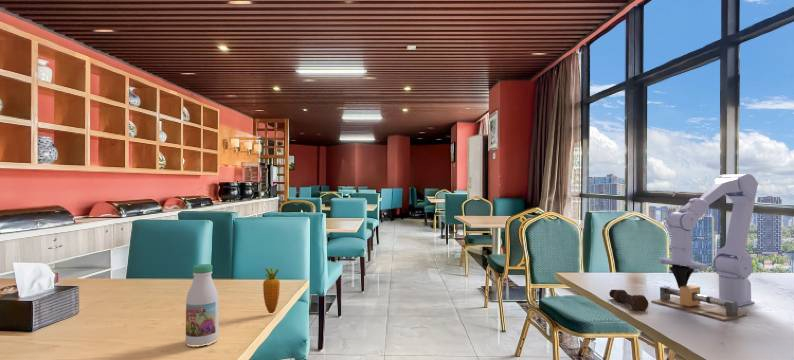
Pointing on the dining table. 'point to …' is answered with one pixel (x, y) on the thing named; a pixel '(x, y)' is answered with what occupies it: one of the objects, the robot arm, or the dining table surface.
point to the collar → (689, 295)
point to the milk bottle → (202, 308)
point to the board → (699, 309)
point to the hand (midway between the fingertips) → (682, 288)
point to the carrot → (271, 290)
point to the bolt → (630, 299)
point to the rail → (703, 300)
